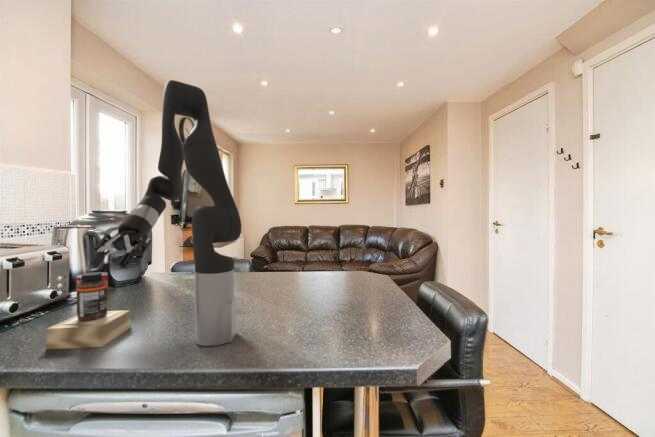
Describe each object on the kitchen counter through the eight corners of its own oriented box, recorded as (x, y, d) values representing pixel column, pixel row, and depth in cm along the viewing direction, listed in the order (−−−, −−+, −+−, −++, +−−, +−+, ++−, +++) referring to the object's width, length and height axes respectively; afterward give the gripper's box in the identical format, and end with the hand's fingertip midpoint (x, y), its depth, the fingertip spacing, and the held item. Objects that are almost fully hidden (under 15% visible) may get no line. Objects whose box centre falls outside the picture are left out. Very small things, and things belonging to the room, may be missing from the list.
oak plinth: (130, 327, 81) (130, 309, 81) (102, 346, 69) (102, 325, 69) (83, 329, 80) (83, 311, 79) (46, 349, 68) (46, 327, 68)
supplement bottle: (83, 315, 76) (82, 272, 76) (110, 312, 78) (110, 270, 78) (72, 323, 71) (72, 276, 70) (102, 320, 73) (101, 274, 73)
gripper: (111, 214, 88) (73, 257, 77) (154, 213, 86) (121, 258, 75) (126, 230, 93) (93, 273, 82) (167, 230, 91) (138, 274, 80)
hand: (106, 266), depth 78 cm, fingers open, 8 cm apart
